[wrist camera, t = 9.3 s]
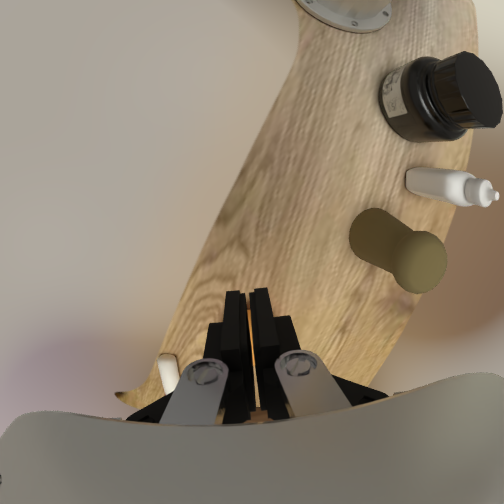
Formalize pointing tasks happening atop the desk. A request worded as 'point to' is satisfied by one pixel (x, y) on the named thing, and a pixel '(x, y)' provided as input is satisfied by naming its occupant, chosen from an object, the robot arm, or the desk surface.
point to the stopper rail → (259, 416)
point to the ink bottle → (441, 98)
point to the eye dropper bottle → (450, 186)
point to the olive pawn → (399, 250)
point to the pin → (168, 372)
